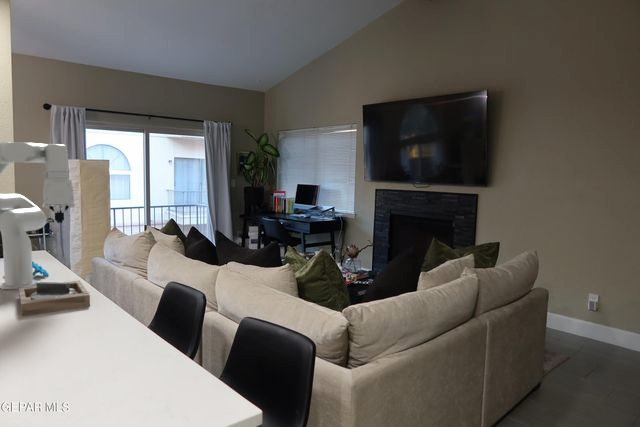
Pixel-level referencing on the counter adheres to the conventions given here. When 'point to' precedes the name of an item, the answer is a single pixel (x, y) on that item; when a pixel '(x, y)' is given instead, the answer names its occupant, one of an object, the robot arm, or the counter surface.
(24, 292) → the dial panel
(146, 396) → the counter surface
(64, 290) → the dial
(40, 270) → the gear
